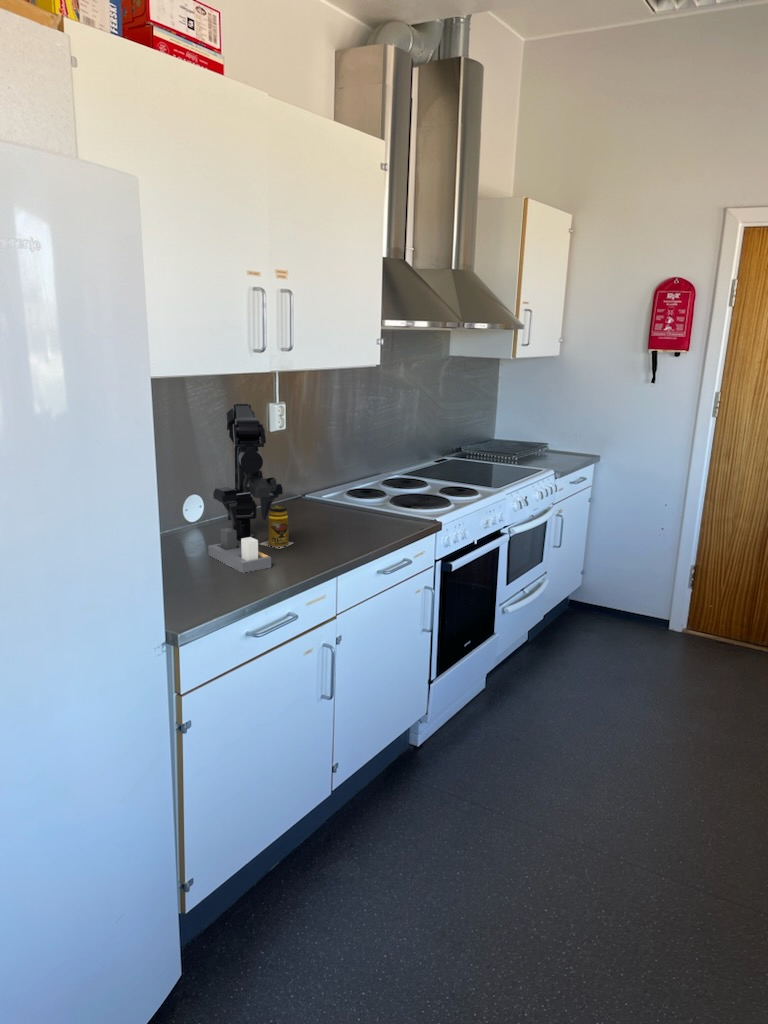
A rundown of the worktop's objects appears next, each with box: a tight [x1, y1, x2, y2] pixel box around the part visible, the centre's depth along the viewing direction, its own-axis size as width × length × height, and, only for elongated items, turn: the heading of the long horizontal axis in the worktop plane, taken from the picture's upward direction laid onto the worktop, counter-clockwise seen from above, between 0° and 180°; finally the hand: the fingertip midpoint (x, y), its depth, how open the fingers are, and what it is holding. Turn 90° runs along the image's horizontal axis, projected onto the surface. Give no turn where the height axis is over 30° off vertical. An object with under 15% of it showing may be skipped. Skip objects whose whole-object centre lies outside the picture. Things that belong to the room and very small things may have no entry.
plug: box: [240, 537, 259, 561], centre depth 206 cm, size 4×3×8 cm
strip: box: [207, 540, 272, 574], centre depth 211 cm, size 20×9×3 cm, turn 40°
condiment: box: [259, 504, 294, 550], centre depth 228 cm, size 7×8×12 cm
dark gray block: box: [220, 527, 238, 550], centre depth 215 cm, size 4×3×8 cm
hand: (249, 521), depth 204 cm, fingers open, 9 cm apart
